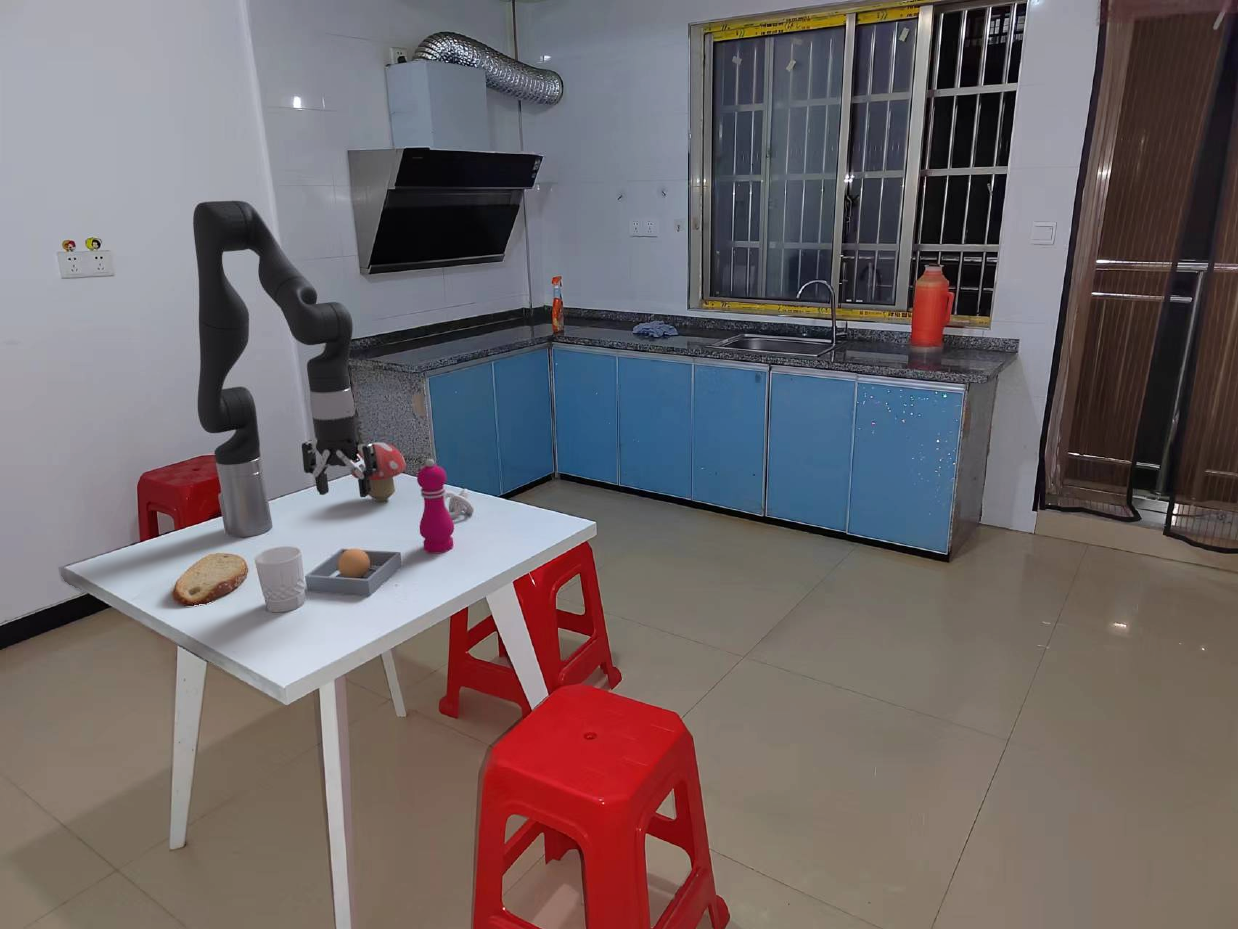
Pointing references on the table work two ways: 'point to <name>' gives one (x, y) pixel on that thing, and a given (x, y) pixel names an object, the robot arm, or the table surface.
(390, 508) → the table surface
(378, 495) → the decorative mushroom
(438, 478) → the pepper mill
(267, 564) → the white cup
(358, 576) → the ball
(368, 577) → the pad
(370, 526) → the table surface
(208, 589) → the slice of bread
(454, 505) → the knot
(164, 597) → the table surface
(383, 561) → the corral
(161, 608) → the table surface
